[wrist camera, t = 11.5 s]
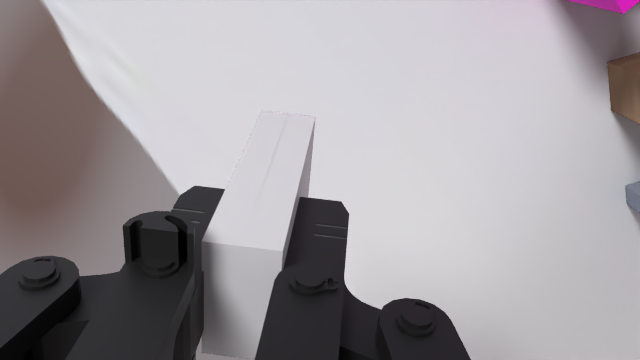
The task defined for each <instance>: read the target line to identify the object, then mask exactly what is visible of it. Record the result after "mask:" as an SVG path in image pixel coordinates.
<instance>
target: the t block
mask: <svg viewBox="0 0 640 360" xmlns="http://www.w3.org/2000/svg"><path fill="white" fill-rule="evenodd" d="M607 64H608V77H609V89H610V102H611V110H612V111H614V112H616V113H618V114H620V115H622V116H624V117H626V118H628V119H630V120H632V121H634V122H636V123H638V124H640V52H638V53H635V54H632V55H629V56H625V57H622V58H619V59H616V60H612V61H609V62H607Z"/></svg>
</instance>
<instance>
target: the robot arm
mask: <svg viewBox="0 0 640 360" xmlns="http://www.w3.org/2000/svg"><path fill="white" fill-rule="evenodd" d="M314 126H315V116H307V115H298V114H289V113H280V112H272V111H263V110H262V111H261V113H260V115H259V117H258V119H257V122H256V124H255V126H254V128H253V130H252V132H251V135H250V137H249V139H248V141H247V143H246V146H245V148H244V150H243V152H242V154H241V156H240V159H239V161H238V163H237V165H236V167H235V169H234V172H233V174H232V176H231V178H230V180H229V182H228V185H227V187H226V189H218V188H210V187H201V186H194V187H192V188H191V189H189V190H188V191H186V192H185V193H183V194H181V195H180V197H179V198H178V200H177V202H176V204H175V205H174V207H173V210H171V212H169V211H165V212H164V211H154V212H149V213H143V214H140V215H138V216H136V217H133V218H131V219H129V220H128V221H127V222H126V223H125V224H124V225H123V236H124V249H125V264H124V265H123V267H122V269H121V270H120V271H119V272H115V273H110V274H103V275H92V276H80V277H79V270H78V268H77V266H76V265H75V263H74V262H72V261H70V260H68V259H66V258H62V257H56V256H42V257H35V258H32V259H28V260H24V261H21V262H19V263H18V264H16V265H14V266H12V267H10V268H9V269H8V270H6V271H5V272H3V273H2V274H1V275H0V360H196V349H197V346H198V344H199V341H200V338H201V336H202V353H207V354H215V355H223V356H230V357H238V358H246V359H254V360H471V359H470V357H469V355H468V353H467V351H466V349H465V347H464V345H463V343H462V341H461V339H460V337H459V335H458V333H457V331H456V329H455V327H454V325H453V323H452V321H451V320H450V318H449V317H448V316H447V315H446V313H445V312H444V311H442V310H441V309H439V308H438V307H436V306H435V305H433V304H431V303H428V302H425V301H422V300H420V299H409V298H404V299H398V300H393V301H391V302H390V303H388V304H386V305H384V307H383V308H382V310H381V309H378V308H375V307H372V306H370V305H368V304H366V303H363V302H361V301H360V300H359V299H357V298H356V297H354V296H353V295H352V294H351V293H350V292H349V290H348V289H347V287H346V285H345V282H344V270H345V258H346V245H347V233H348V221H349V213H348V211H347V210H346V208H345V207H344V205H343V204H342V202H340V201H332V200H323V199H315V198H308V192H309V181H310V170H311V159H312V148H313V137H314Z"/></svg>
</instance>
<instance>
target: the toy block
mask: <svg viewBox="0 0 640 360" xmlns="http://www.w3.org/2000/svg"><path fill="white" fill-rule="evenodd" d="M568 1H572V2H576V3H580V4H584V5H589V6H593V7H597V8H601V9H605V10H610V11H614V12H618V13H622V14H624V13H625V12H626V11H628V10H629V9H630V8H632V7H633V6H634V5H635V4H637V3H638V2H639V1H640V0H568Z"/></svg>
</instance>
